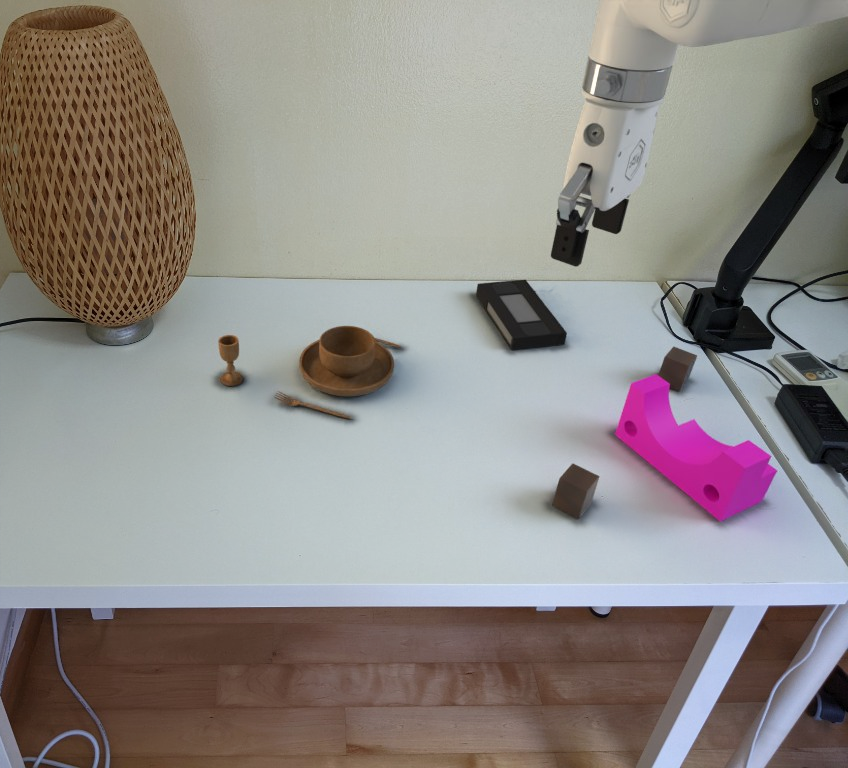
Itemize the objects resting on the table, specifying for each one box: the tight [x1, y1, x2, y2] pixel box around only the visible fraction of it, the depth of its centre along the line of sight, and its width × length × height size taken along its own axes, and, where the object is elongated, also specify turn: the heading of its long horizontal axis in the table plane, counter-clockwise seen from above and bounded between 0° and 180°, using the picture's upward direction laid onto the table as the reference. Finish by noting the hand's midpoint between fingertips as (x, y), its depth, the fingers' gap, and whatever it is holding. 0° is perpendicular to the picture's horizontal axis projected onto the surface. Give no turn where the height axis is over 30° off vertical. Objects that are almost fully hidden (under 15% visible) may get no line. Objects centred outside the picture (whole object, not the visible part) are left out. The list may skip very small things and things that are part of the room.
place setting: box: [217, 325, 402, 420], centre depth 97 cm, size 18×20×6 cm
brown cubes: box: [551, 346, 698, 520], centre depth 88 cm, size 3×31×4 cm, turn 140°
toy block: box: [614, 373, 778, 522], centre depth 83 cm, size 15×6×8 cm, turn 28°
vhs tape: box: [475, 279, 568, 351], centre depth 108 cm, size 8×14×2 cm, turn 11°
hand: (586, 245), depth 83 cm, fingers open, 9 cm apart
